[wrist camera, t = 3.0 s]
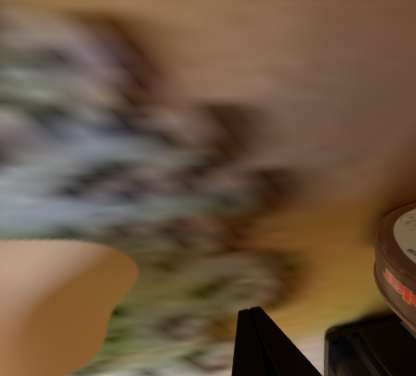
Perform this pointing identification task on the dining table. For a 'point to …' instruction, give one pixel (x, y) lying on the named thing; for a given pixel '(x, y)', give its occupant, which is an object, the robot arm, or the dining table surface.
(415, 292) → the tin
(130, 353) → the dining table surface
